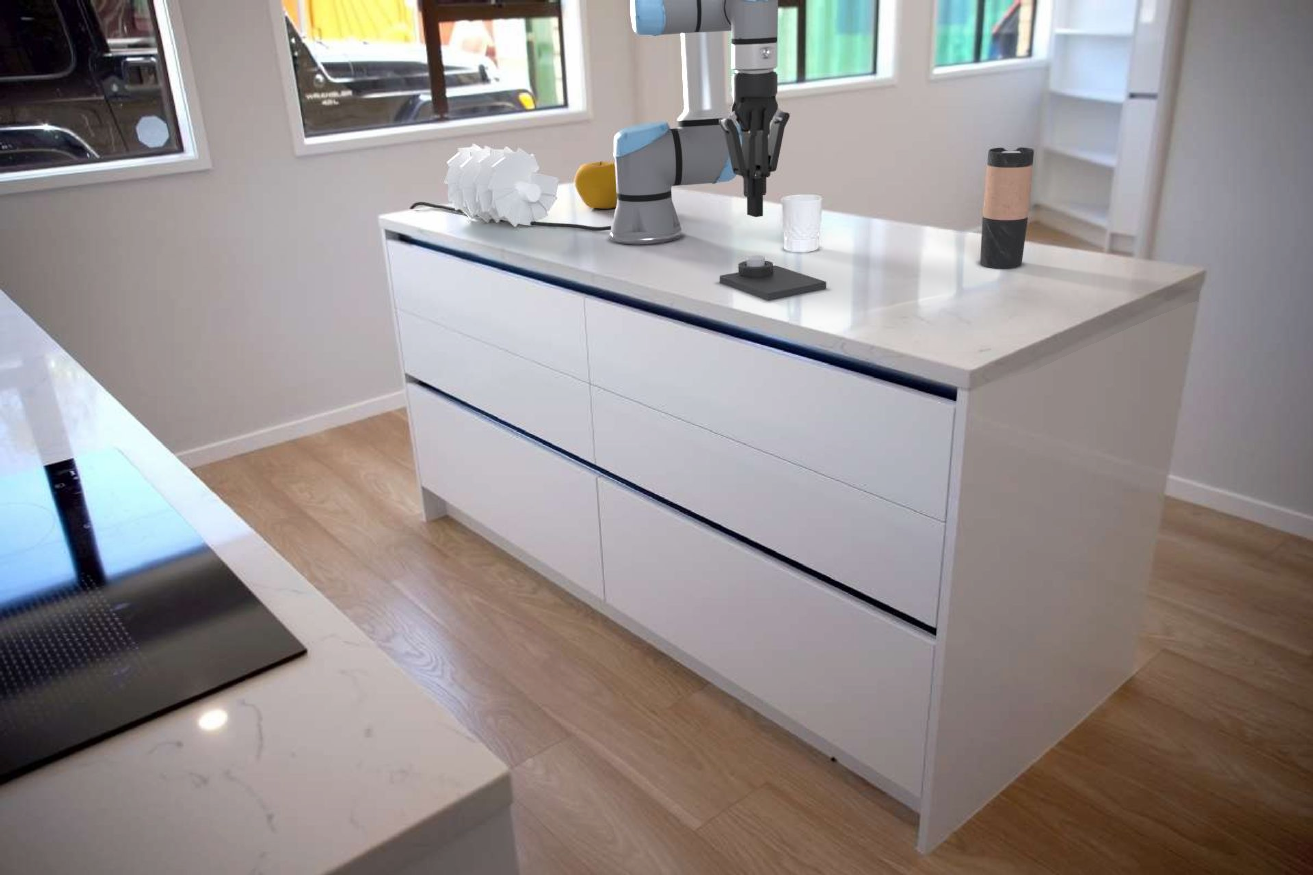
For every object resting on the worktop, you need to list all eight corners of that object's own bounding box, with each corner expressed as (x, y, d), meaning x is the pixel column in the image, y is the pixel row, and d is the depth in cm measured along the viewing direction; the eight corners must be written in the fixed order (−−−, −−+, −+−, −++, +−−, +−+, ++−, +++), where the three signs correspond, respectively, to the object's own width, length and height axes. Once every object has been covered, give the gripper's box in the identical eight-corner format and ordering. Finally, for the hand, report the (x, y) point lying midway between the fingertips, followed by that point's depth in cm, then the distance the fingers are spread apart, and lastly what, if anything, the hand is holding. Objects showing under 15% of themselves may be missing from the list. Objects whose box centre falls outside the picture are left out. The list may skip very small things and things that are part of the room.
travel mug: (1000, 271, 175) (1011, 154, 167) (969, 263, 181) (978, 150, 173) (1032, 264, 178) (1044, 149, 170) (1000, 257, 185) (1010, 145, 177)
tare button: (743, 265, 177) (742, 257, 176) (758, 263, 178) (758, 254, 177) (753, 269, 174) (753, 260, 173) (768, 266, 175) (768, 257, 175)
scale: (718, 282, 177) (717, 266, 176) (773, 272, 182) (773, 256, 181) (767, 301, 164) (767, 284, 163) (826, 289, 169) (826, 272, 168)
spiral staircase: (522, 248, 229) (458, 230, 245) (573, 204, 236) (508, 189, 252) (488, 180, 217) (424, 166, 233) (543, 136, 224) (477, 125, 240)
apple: (627, 212, 243) (624, 164, 238) (574, 214, 243) (570, 166, 239) (629, 202, 255) (626, 156, 250) (579, 204, 255) (575, 159, 250)
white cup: (820, 253, 194) (821, 201, 190) (779, 253, 195) (779, 202, 191) (822, 244, 201) (823, 194, 197) (783, 244, 202) (783, 194, 199)
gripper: (733, 75, 157) (735, 224, 167) (800, 69, 163) (798, 213, 173) (708, 73, 164) (711, 217, 173) (774, 67, 169) (773, 207, 179)
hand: (755, 215), depth 173 cm, fingers closed
